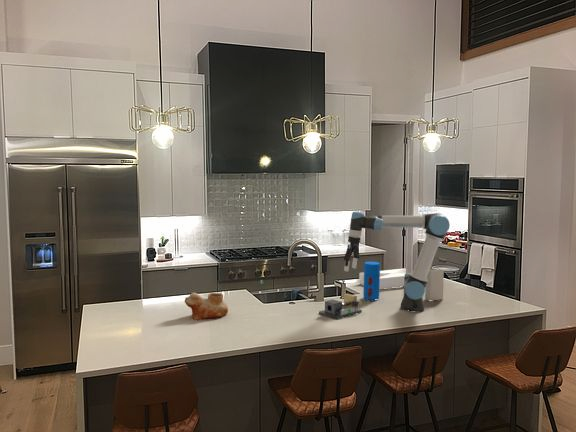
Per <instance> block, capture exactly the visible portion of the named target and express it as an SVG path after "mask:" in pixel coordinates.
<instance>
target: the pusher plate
mask: <svg viewBox="0 0 576 432" xmlns="http://www.w3.org/2000/svg"><path fill="white" fill-rule="evenodd" d="M357 298H358V296H357V295H355V294H350V293H344V294H343V302H342V307H347V308H350V307H354V306H352V301H354V300H355V301H358V306H361V305H362V301H363V300H359V299H357Z"/></svg>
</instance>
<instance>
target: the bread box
mask: <svg viewBox="0 0 576 432" xmlns="http://www.w3.org/2000/svg"><path fill="white" fill-rule="evenodd" d="M406 273H407V268H405V267H404V268H396V269H386V270H385V269H384V270H380V287H379V289H384V288H392V287H400V286H404V276H405V274H406ZM358 277H359V278H358V281H359V282H358V284H359V283H360V284H362V285H364V272H359V276H358ZM362 285H361V286H362Z"/></svg>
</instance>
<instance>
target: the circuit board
mask: <svg viewBox="0 0 576 432" xmlns="http://www.w3.org/2000/svg"><path fill="white" fill-rule="evenodd" d="M342 303H343V301H340V300H336V299H333V298H332V299H328V300H325V301H324V309H323V310H319V311H318V314H319V315H321V316H324V317H328V318H331V319H334V320H339V318H340V319H343V318H342V317H344V318H347V317H350V316H349V315H351V316H354V315H357V314H356V313H358V314H361V313H360V312H362V313H363V311H362V309H360V308H359V307H360V305H358V310H357V307H355V306H354V307H350V308H347V307H342ZM353 314H354V315H353ZM346 316H347V317H346Z"/></svg>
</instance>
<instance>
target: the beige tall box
mask: <svg viewBox="0 0 576 432" xmlns="http://www.w3.org/2000/svg"><path fill="white" fill-rule="evenodd" d="M444 272H445V269H443V268H440V267H438V268H437V269H433V264H431V267H430V269H429V272H428V275H427V280H428V282H427V285H426V287H425V293H424V300H425V299H427V300H436V299H443V300H444V274H445V273H444ZM427 300H426V301H427Z"/></svg>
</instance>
